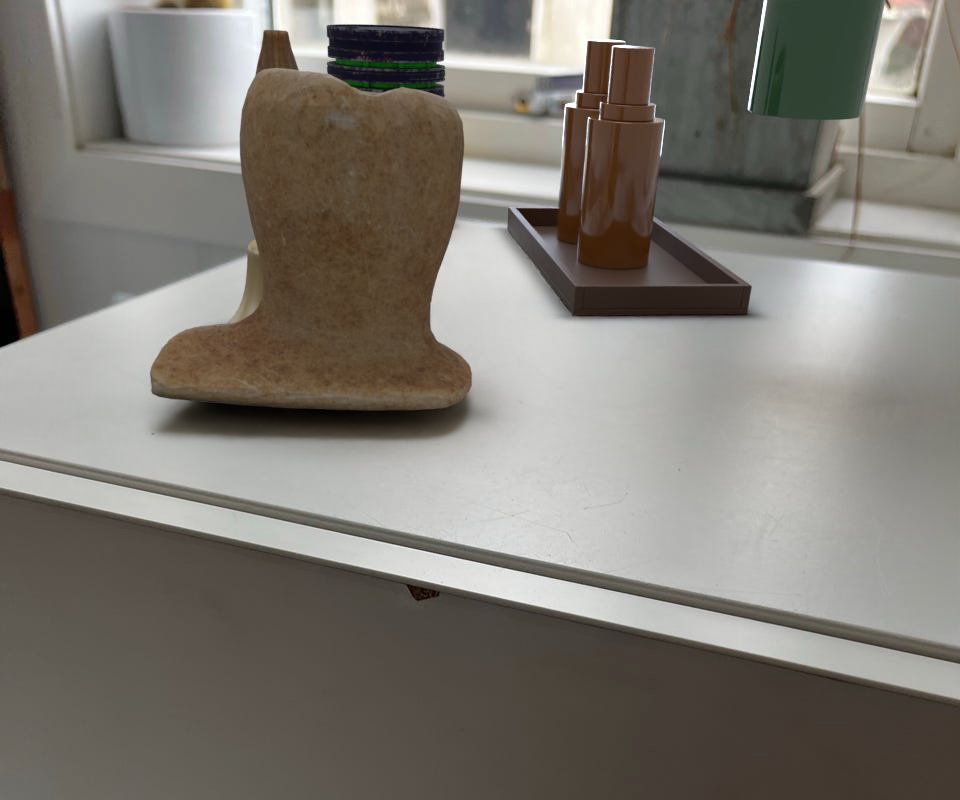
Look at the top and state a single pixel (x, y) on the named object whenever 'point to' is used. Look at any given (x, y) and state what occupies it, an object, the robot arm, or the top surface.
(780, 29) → the green bottle
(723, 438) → the top surface
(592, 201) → the amber bottle
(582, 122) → the amber bottle
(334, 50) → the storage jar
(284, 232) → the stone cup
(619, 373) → the top surface
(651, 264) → the tray
